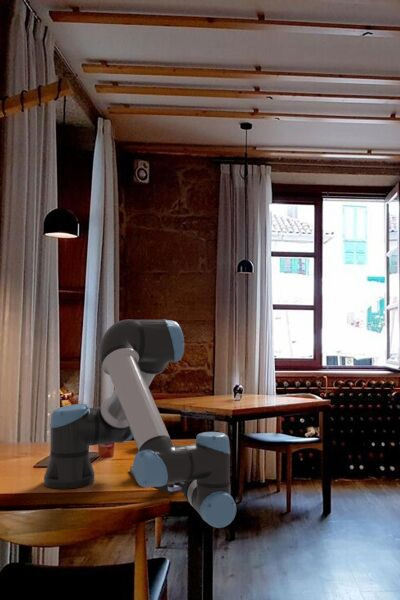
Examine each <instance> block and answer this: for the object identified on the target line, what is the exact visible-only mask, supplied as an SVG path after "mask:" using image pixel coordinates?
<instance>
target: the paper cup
mask: <svg viewBox="0 0 400 600" xmlns="http://www.w3.org/2000/svg"><path fill="white" fill-rule="evenodd" d="M115 445H116V444H115V443H108V444H100V445H97V448H98V457H99V458H102V459H105V458H107V459H108V458H113V457H114V456H115Z"/></svg>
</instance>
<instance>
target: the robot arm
mask: <svg viewBox="0 0 400 600" xmlns="http://www.w3.org/2000/svg"><path fill="white" fill-rule="evenodd" d="M184 352H185V338H184V333H183V330H182V328H181V326H180V324H179V323H178V322H177V321H174V320H169V319H165V318H164V319H122V320H119V321H117V322H115V323H114V324H112V325H111V326H110V327H109V328H108V329H107V330H106V331H105V332H104V335H103V336H102V338H101V340H100V344H99V350H98V357H99V362H100V364H101V365H100V366H101V368H102V371H103V372H104V374H107V375H108V376H109V377H110V380H111V383H112V385H113V388H114V390H113V392H112V394H111V395H110V396H109V397H107V398H106V399H104V400H103V401H102V403H101V404H100V406H98V407H90V405H89V404H88V403H78V404H76V403H75V404H69V405H65V406H62V407H58V408H56V409H54V410H53V411H52V413H51V417H50V425H49V427H50V443H49V444H50V453H49V456H50V457H49V462H48V464H47V466H46V469H45V470H46V471H45V473H44V475H43V476H44V477H43V485H44V486H45V487H47V488H49V489H57V490H62V489H63V490H65V489H66V490H67V489H68V490H69V489H76V488H77V489H78V488H82V487H86V486H89V485H91V484H93V483H94V482H95V470H94V469H93V465H92V461H91V458H90V446H98V445H100V444H108V443H116V444H120V443H124V442H129V441H131V440H132V439H133V440H134V443H135V446H136V448H137V450H138V452H136V454H135V456H134V458H133V462H132V464H133V465H132V466H133V469H134V475H135V478H136V480H135V481H136V483H137V482H138V483H137V484H139V485H140V486H139V485H138V486H139V487H143V488H153V489H156V490H159V491H162V492H164V493H167V494H168V495H170V496H172V495H174V493H175V492H178V493H182V494H183V497H184V498H185V500H186V501H187V502H188V503H189V504H190V506H192V507H193V509H194V510H195V511H196V512H197V513H198V514H199V516H200V517H201V519H202V520H203V521H204V522H205V523H207V524H208V525H209V526H211V527H213V528H217V529H221V528H225V527H227V526H228V525H230V524H231V523H232V522H233V521H234V519H235V517H236V514H237V504H236V502H235V500H234V497H233V496H232V495H231V479H230V474H231V473H230V470H231V469H230V467H231V465H230V464H231V463H230V460H231V458H230V457H231V447H230V439H229V436H228V435H227V434H226V433H224V432H218V431H204V432H200V433H198V434H197V435H196V439H195V443H193V444H186V445H178V446H174V445H175V444H174V443H173V441H172V439H171V437H170V435H169V433H168V430H167V427H166V425H165V423H164V420H163V419H162V416H161V414H160V411H159V409H158V406H157V405H156V402H155V400H154V397H153V395H152V393H151V390H150V388H149V387H150V385H151V383H152V381H153V379H154V378H155V376H156V375H159V374H161V373H163V372H164V371H165V369H166V368H167V366H168V365H169V363H176V362H179V361H181V360H182V358H183V356H184ZM135 478H134V479H135Z"/></svg>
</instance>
